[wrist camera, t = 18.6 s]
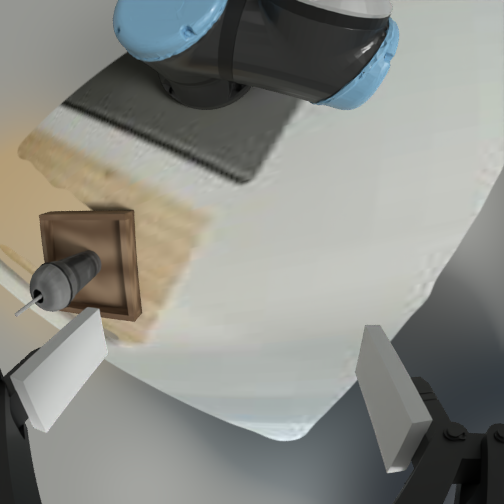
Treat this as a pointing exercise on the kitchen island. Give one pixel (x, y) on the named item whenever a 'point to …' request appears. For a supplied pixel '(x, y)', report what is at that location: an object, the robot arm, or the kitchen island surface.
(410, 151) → the kitchen island surface
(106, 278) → the serving tray
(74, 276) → the beverage cup
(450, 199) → the kitchen island surface
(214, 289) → the kitchen island surface
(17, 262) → the kitchen island surface
